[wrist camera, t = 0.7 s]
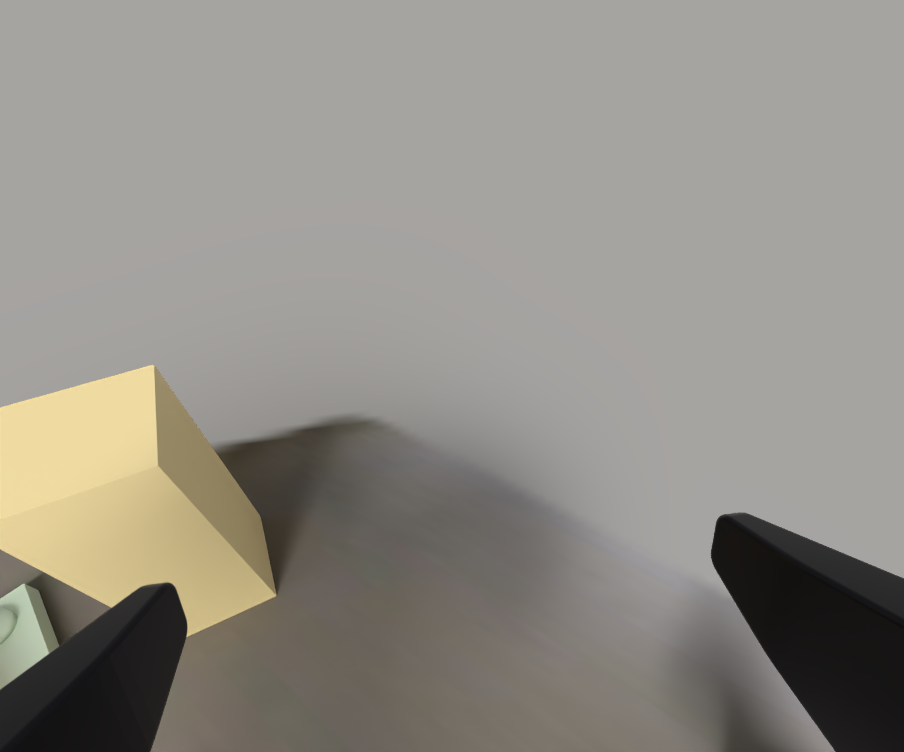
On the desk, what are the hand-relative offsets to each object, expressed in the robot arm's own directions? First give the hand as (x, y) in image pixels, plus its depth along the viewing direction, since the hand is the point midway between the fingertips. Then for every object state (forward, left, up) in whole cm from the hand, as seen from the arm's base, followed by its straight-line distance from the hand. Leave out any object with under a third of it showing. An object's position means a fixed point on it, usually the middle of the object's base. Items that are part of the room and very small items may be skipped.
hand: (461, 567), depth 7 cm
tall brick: (0, +13, -16) cm, 20 cm away
